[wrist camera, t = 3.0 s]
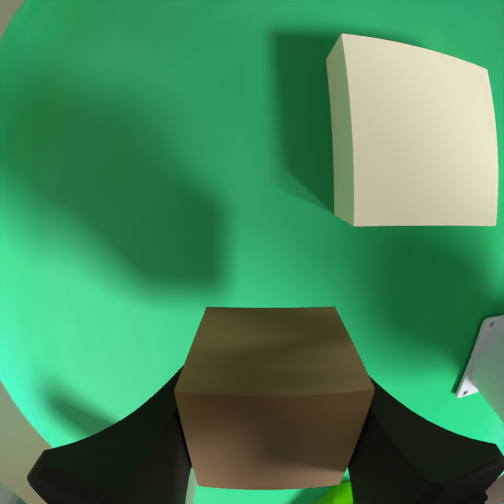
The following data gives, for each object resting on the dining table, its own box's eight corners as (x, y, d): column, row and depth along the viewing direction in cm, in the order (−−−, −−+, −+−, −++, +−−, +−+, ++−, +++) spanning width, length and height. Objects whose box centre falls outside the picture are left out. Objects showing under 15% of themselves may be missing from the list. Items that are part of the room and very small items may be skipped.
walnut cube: (334, 306, 11) (374, 388, 6) (321, 400, 13) (339, 484, 8) (206, 306, 11) (173, 391, 7) (214, 400, 13) (198, 486, 8)
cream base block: (451, 82, 14) (486, 69, 10) (457, 214, 16) (495, 225, 12) (324, 61, 14) (341, 33, 10) (332, 213, 16) (353, 226, 12)
